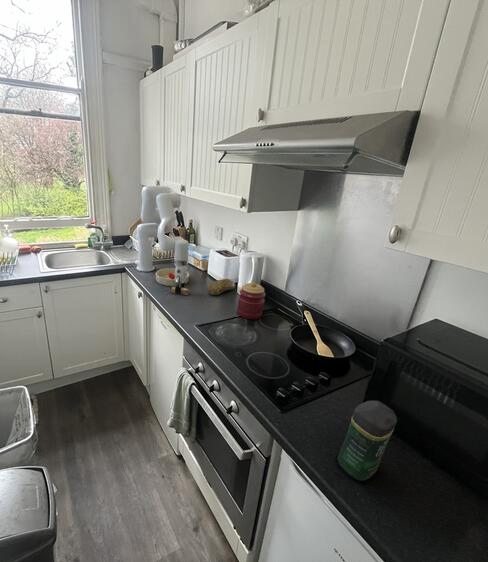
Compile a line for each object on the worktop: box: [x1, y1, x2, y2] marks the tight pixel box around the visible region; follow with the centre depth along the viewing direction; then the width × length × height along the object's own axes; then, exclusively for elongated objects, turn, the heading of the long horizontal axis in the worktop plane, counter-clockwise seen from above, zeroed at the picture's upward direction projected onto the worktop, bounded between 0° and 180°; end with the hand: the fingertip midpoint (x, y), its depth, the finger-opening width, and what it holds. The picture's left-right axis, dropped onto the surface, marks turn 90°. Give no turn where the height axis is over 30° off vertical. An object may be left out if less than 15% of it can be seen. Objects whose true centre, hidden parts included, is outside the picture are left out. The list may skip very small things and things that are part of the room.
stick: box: [170, 286, 190, 296], centre depth 172 cm, size 10×3×3 cm, turn 80°
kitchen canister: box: [236, 281, 266, 320], centre depth 150 cm, size 13×13×18 cm
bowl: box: [155, 267, 190, 287], centre depth 189 cm, size 21×21×4 cm
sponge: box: [206, 278, 236, 296], centre depth 176 cm, size 13×8×20 cm
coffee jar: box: [337, 400, 398, 482], centre depth 73 cm, size 10×8×19 cm
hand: (179, 290), depth 172 cm, fingers open, 9 cm apart
